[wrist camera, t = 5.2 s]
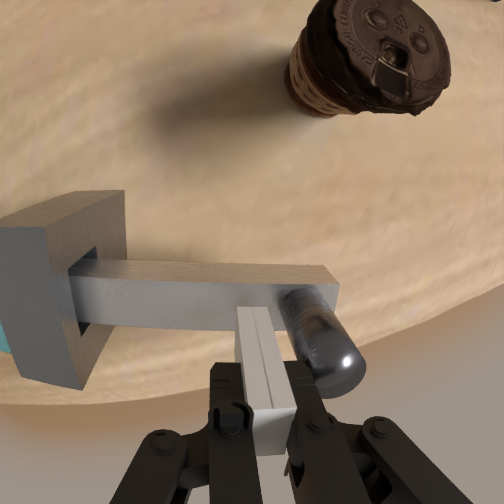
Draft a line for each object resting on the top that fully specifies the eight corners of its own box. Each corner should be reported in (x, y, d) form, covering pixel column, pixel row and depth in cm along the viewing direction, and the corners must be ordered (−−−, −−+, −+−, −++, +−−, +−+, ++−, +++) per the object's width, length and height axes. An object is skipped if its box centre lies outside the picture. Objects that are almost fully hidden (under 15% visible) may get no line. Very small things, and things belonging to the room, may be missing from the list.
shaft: (-9, 288, 17) (-73, 344, 9) (-16, 253, 17) (-89, 301, 8) (317, 305, 20) (369, 395, 12) (323, 265, 19) (388, 343, 11)
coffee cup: (307, 149, 24) (385, 150, 12) (248, 71, 22) (275, 0, 9) (379, 101, 23) (480, 80, 11) (327, 28, 21) (398, -40, 8)
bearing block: (84, 293, 26) (21, 376, 14) (74, 191, 23) (-21, 227, 11) (130, 296, 27) (82, 390, 15) (124, 190, 24) (44, 226, 11)
